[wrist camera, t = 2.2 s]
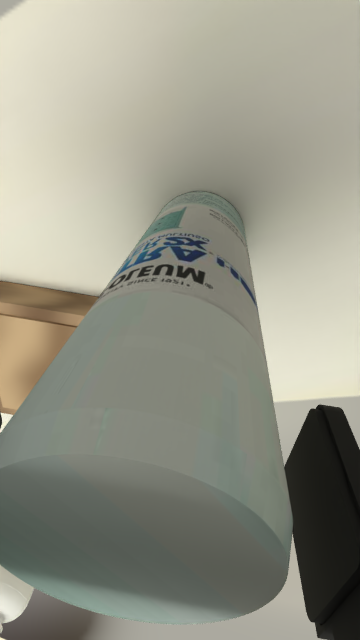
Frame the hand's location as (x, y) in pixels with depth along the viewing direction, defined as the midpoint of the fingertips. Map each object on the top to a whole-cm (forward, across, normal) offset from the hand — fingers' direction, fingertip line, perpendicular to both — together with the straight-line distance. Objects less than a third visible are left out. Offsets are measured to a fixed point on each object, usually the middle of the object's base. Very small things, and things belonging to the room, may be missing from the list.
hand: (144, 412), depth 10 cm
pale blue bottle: (+16, -1, 0) cm, 16 cm away
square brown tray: (+16, +9, +12) cm, 22 cm away
